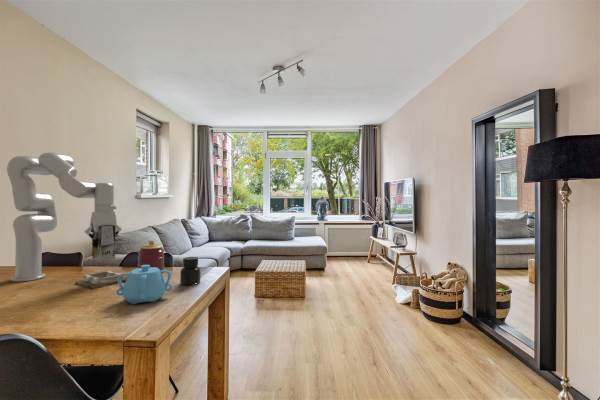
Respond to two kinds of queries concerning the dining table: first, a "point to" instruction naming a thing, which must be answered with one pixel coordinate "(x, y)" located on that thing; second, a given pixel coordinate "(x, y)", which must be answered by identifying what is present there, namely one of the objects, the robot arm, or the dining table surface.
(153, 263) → the canister
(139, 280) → the decorative pot
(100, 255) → the coffee box
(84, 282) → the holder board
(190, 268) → the ink bottle
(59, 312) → the dining table surface
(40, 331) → the dining table surface
